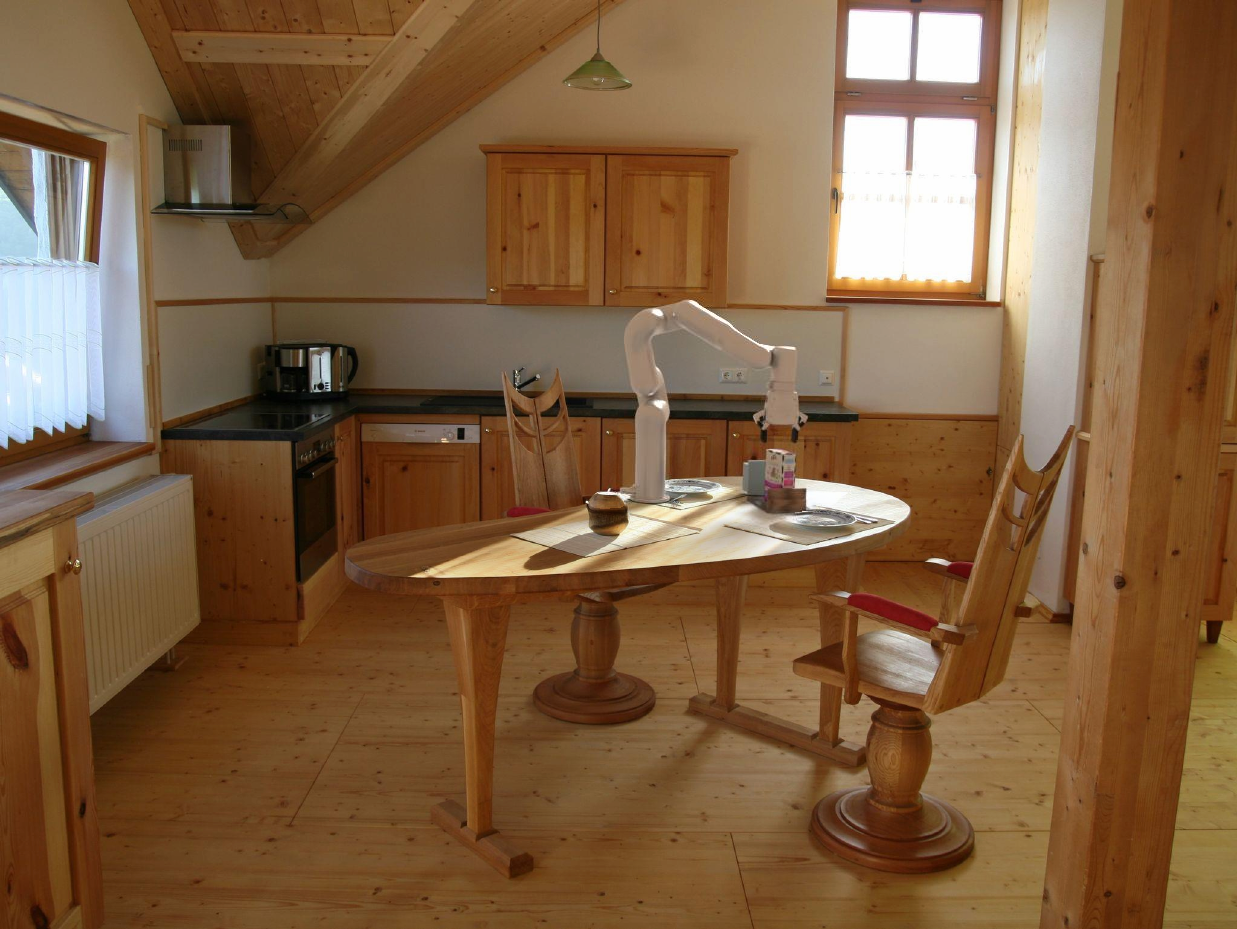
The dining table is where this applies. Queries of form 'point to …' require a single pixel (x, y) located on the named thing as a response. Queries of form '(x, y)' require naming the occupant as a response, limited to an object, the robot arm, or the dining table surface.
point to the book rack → (782, 501)
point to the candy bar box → (779, 469)
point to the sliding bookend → (754, 477)
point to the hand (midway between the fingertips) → (778, 442)
